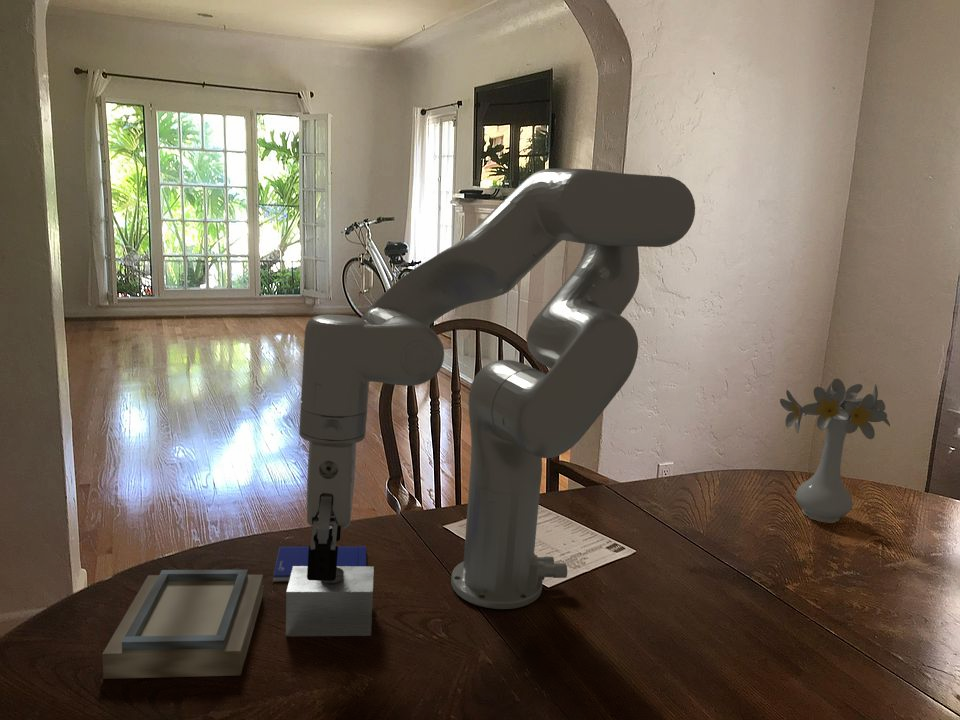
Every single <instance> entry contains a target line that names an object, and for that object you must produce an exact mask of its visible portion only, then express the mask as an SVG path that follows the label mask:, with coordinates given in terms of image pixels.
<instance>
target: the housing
mask: <svg viewBox="0 0 960 720" xmlns="http://www.w3.org/2000/svg"><path fill="white" fill-rule="evenodd" d="M307 568H308V566H293V568H292V572H291V576H290V580H289V581H288V584H287V587H286V593H285V594H286V596H285V597H286V598H285V601H286V602H285V603H286V605H285V637H350V636H351V637H360V636H361V637H366V636H367V637H368V636H370V637H371V636H372V619H373V595H374V575H375V574H374V572H375V570H374V569H375V566H368V565H366V566H337V568H336V579H335V580H334V581H318V580H308V579H307Z"/></svg>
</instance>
